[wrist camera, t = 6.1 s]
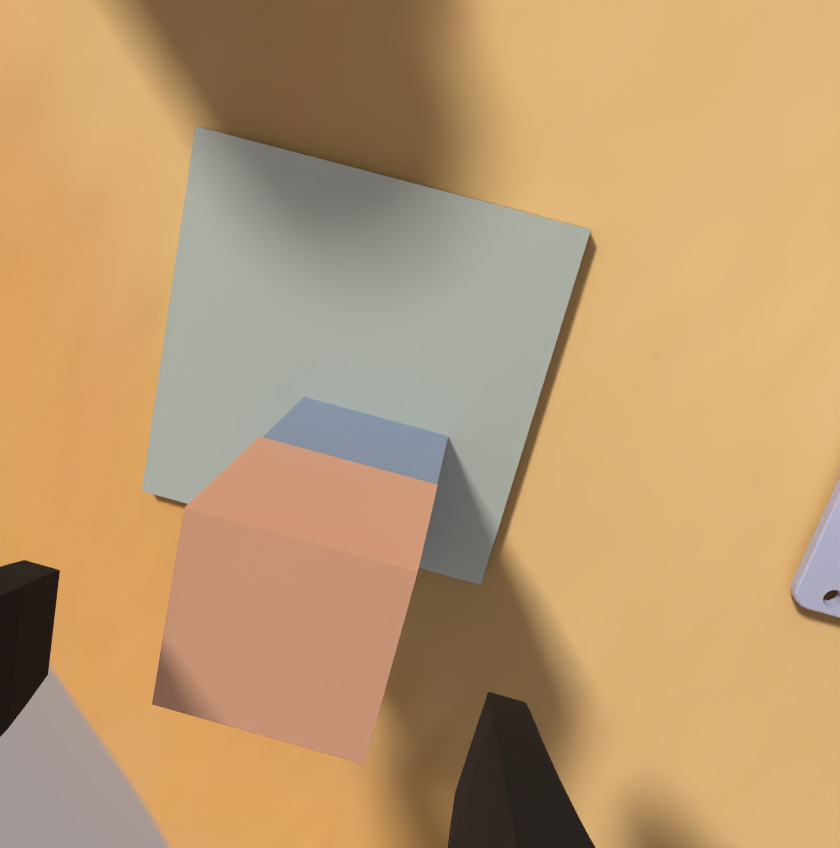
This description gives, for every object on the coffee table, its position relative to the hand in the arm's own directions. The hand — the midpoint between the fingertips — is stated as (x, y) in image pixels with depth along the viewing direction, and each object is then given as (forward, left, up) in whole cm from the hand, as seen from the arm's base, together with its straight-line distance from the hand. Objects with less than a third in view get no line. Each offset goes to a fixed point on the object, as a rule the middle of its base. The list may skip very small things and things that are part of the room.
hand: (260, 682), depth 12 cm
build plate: (+1, -3, -9) cm, 10 cm away
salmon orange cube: (0, 0, -5) cm, 5 cm away
